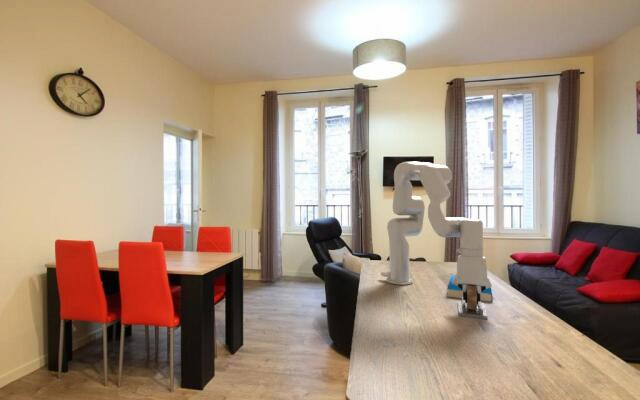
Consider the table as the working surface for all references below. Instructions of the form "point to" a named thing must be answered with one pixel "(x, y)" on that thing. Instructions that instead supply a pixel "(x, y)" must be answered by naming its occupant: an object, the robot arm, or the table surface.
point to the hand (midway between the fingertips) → (471, 302)
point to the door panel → (472, 297)
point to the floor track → (472, 310)
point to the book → (457, 292)
